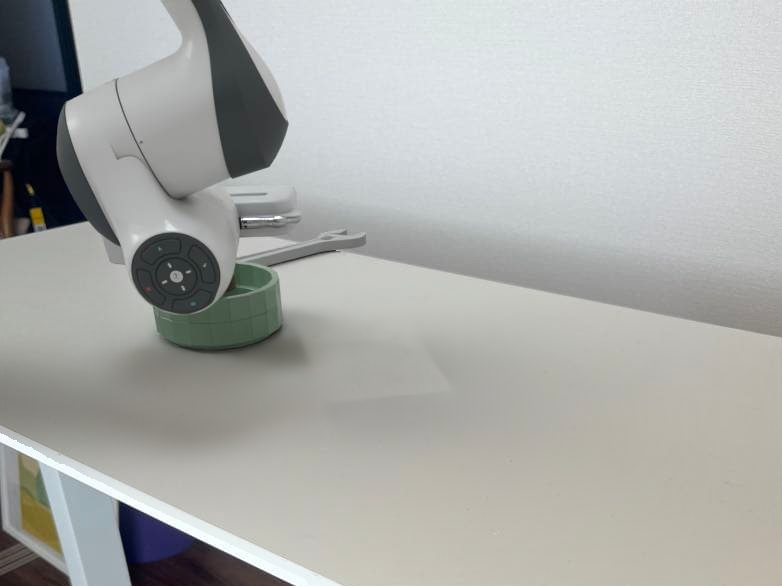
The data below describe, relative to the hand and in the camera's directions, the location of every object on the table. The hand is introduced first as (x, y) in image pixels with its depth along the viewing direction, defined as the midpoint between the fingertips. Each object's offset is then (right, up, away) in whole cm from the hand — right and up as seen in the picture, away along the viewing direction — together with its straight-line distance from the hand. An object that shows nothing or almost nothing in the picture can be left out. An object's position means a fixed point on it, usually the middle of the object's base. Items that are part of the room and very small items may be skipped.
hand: (204, 194), depth 90 cm
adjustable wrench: (+5, +5, +33) cm, 34 cm away
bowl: (0, -13, +8) cm, 15 cm away
